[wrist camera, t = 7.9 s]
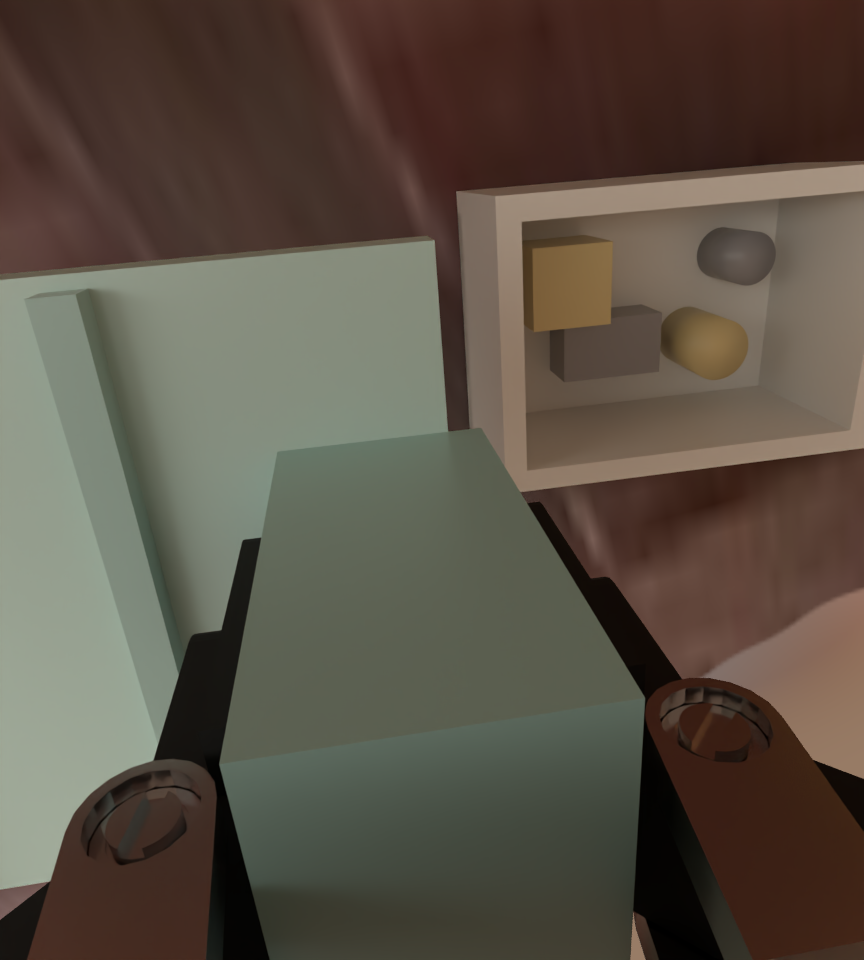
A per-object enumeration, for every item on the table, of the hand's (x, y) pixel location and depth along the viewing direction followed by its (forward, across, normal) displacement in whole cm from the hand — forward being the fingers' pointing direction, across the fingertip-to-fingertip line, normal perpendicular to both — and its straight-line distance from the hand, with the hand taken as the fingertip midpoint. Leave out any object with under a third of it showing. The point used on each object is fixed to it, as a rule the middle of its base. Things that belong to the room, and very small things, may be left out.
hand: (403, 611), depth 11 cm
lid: (+3, +6, 0) cm, 7 cm away
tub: (+21, -12, 0) cm, 24 cm away
